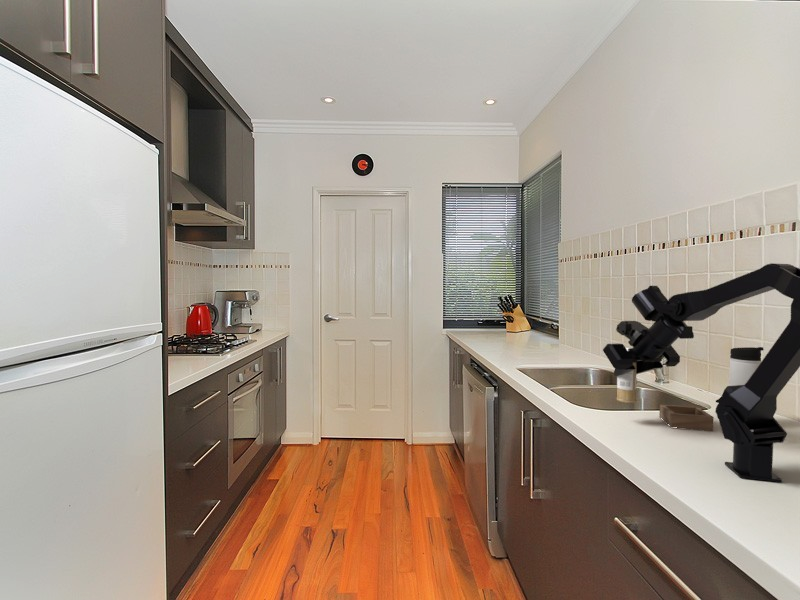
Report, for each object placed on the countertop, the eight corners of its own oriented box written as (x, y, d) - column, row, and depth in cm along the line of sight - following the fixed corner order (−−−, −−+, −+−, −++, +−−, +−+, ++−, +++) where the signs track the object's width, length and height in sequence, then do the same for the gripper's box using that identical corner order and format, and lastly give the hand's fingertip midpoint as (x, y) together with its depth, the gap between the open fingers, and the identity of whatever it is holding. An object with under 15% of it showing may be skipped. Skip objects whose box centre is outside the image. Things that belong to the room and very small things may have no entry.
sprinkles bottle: (640, 402, 109) (641, 349, 109) (630, 404, 106) (631, 350, 106) (622, 398, 113) (623, 346, 112) (612, 400, 110) (613, 348, 110)
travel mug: (757, 429, 106) (760, 348, 106) (725, 422, 111) (727, 345, 111) (762, 424, 110) (765, 346, 110) (730, 418, 115) (733, 343, 115)
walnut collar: (713, 431, 104) (713, 417, 104) (671, 427, 107) (671, 413, 107) (697, 420, 113) (698, 407, 113) (659, 417, 115) (659, 404, 115)
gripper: (670, 310, 108) (634, 348, 119) (609, 310, 103) (577, 350, 113) (699, 345, 101) (658, 382, 111) (635, 347, 95) (598, 386, 106)
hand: (622, 374), depth 111 cm, fingers closed on sprinkles bottle, 4 cm apart
